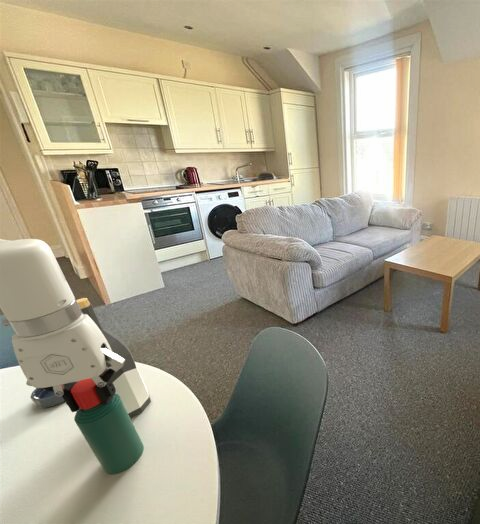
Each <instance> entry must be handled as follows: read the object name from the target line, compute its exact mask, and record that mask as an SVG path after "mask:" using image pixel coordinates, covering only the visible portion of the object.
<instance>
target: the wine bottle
mask: <svg viewBox="0 0 480 524" xmlns="http://www.w3.org/2000/svg"><path fill="white" fill-rule="evenodd" d="M76 301H77V303H78V305H79V307H80V309H81V311H82V313H83V314H87V315H88V316H89V317H90V318H91V319H92V320H93V321H94V323H95V324H96V325H97V326H98V328H99V329H100V330H101V332H102V334H103V335H104V337H105V338H106V340H107V342H108V344H109V345H110V347H111V350H112V352H113V353H115V354H117V355H119V356H120V357H122V358H124V359H125V360H126V362H125V364H124V365H123V367H121V368H120V369H119V370H118V371H117V372H115V373H114V374H113V375H112V377H111V378H110V379H111V381H112V383H113V385H114V387H115V389H116V392H115V394H118V395H119V396H120V398H121V400H122V402H123V404H124V407H125V409H126V411H127V413H128V415H129V417H130V419H131V418H133V417H135V416H138V415H140V414H141V413H143V412H144V410H145V409H146V408H147V407H148V406H149V404H150V403H151V402H152V399H151V396H150V394H149V391H148V388H147V386H146V384H145V382H144V379H143V377H142V375H141V373H140V370H139V368H138V366H137V363H136V361H135V359H134V357H133V354H132V352H131V350H130V348H129V345H127V344H126V342H125V341H124V340H123V339H122V338H121V337H119V336H118V335H116V334H115V333H113V332H112V331H109V330H107V329H105V328H104V327H103V326H102V324H101V322H100V320H99V318H98V316H97V314H96V311H95V310H94V308H93V304H92V302H90V301H89V298H87V297H81V298H79V299H76ZM110 365H111V364H109V363H107V362H106V366H107V367H108V368H109V366H110ZM101 376H102V374H101Z"/></svg>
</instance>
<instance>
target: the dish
mask: <svg viewBox="0 0 480 524" xmlns="http://www.w3.org/2000/svg"><path fill="white" fill-rule="evenodd" d="M76 382H77V383H78V382H79V381H76ZM73 383H74V382H73ZM29 397H30V399H31V401H32V402H33V404H34V405H35V406H36V407H37V408H39V409H40V408H41V409H45V408H50V407H54V406H57V405H60V404H61V403H64V402H65V400H64V399H63V397H62V396H56V395H55V393H54V392H52V391H49V390H46V389H43V388H35V389H34V390H33V391H32V392H31V394H30V396H29Z"/></svg>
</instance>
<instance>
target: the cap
mask: <svg viewBox="0 0 480 524" xmlns="http://www.w3.org/2000/svg"><path fill="white" fill-rule="evenodd" d="M96 387H97V385H96V384H95V383H94V382H93V381H92V379H91V378H90V379H85V380H81V381H79V382H78V383H76V384H75V385H74V386H73V387H72V388H71V393H72V395H73V397H74V399H75V401H76V403H77V404H78V406H79V408H81V409H90V408H93V407H95V406H97V405H98V404H100V403H101V400H100V398H99V396H98V395H97V393H96V391H95V389H96Z"/></svg>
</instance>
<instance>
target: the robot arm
mask: <svg viewBox="0 0 480 524" xmlns="http://www.w3.org/2000/svg"><path fill="white" fill-rule="evenodd" d="M76 300H77V299H76V297H75V295H74V293H73V290H72V289H71V286H70V285H69V283H68V281H67V279H66V277H65V275H64V273H63V270H62V269H61V266H60V265H59V262H58V261H57V259H56V256H55V254H54V253H53V251H52V249H51V247H50V245H48V244H47V243H46V242H45V241H43V240H42V239H37V238H20V239H14V240H8V239H3V238H0V310H1V312H2V313H3V315H4V317H3V318H2V320H1V324H2V326H5V327H8V326H10V327H11V328H12V330H13V331H14V334H12V335H11V342H12V343H11V344H12V348H13V352H14V355H15V358H16V360H17V363H18V365H19V367H20V370H21V371H22V373H23V375H24V377H25V379H26V383H25V384H26V386H29V387H33V388H35V389H36V388H43V389H46V390H49V391H52V392H54V393H55V395H56V396H62V397H63V399H64V400H65V401H64V402H65V404H66V405H67V406H68V408H69V409H70V412H71V413H76V412H77V411H78V410H79V406H78V404H77V403H76V401H75V399H74V397H73V395H72V393H71V388H72V387H73V386H74V385H75V384H76V383H77V382H76V381H81V380H85V379H90V378H91V379H92V381H93V382H94V383H95V384H96V385H97V387H96V389H95V391H96V393H97V395H98V396H99V398H100V400H101V402H102V404H104V405H107V404H109V402H110V400H111V399H112V397H113V396H114V394H115V392H116V389H115V387H114V385H113V383H112V381H111V379H110V378H111V377H112V375H113V374H114V373H115V372H117V371H118V370H119V369H120V368H121V367H123V365H124V364H125V362H126V360H125V359H124V358H122V357H120V356H119V355H117V354H115V353H113V352H112V350H111V347H110V345H109V344H108V342H107V340H106V338H105V337H104V335H103V334H102V332H101V330H100V329H99V328H98V326H97V325H96V324H95V323H94V321H93V320H92V319H91V318H90V317H89V316H88V315H87V314H83V313H82V311H81V309H80V307H79V305H78V303H77V301H76ZM106 362H107V363H109V364H111V365H110V366H109V368H108V367H107V366H106ZM101 374H102V376H101ZM73 382H74V383H73Z"/></svg>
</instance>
